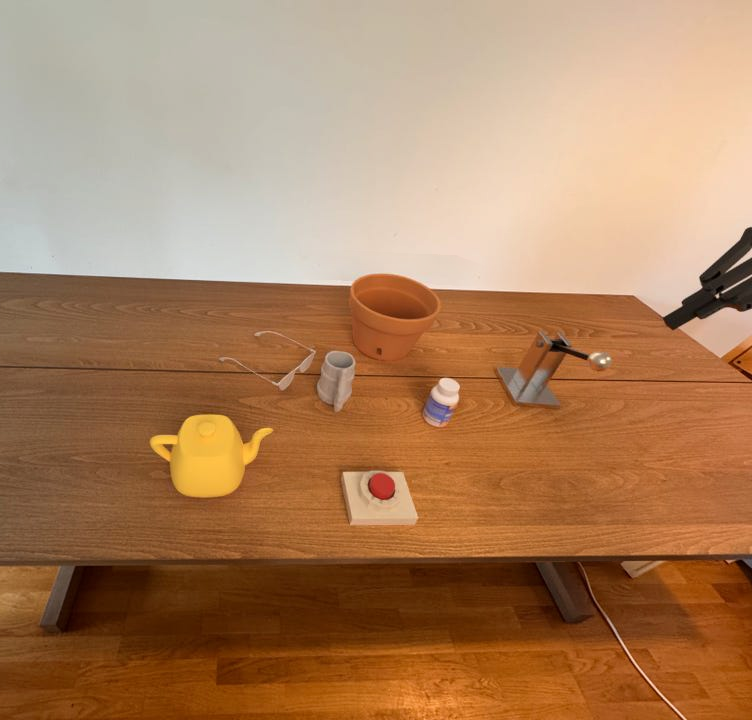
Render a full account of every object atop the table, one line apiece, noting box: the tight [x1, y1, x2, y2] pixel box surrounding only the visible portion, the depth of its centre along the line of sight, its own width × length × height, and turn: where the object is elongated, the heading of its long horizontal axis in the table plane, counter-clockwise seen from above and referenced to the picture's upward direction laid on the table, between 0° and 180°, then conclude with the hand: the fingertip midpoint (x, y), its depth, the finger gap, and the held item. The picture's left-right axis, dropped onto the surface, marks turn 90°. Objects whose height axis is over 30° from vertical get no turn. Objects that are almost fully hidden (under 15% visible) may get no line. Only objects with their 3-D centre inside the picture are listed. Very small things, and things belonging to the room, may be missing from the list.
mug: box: [316, 350, 356, 413], centre depth 88 cm, size 8×12×12 cm, turn 178°
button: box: [369, 473, 395, 499], centre depth 70 cm, size 4×4×2 cm
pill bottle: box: [422, 377, 461, 428], centre depth 86 cm, size 5×5×10 cm
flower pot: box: [348, 273, 442, 362], centre depth 104 cm, size 21×21×15 cm
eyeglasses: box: [218, 330, 317, 391], centre depth 99 cm, size 15×18×4 cm
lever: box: [548, 337, 613, 372], centre depth 83 cm, size 17×4×4 cm, turn 177°
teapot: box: [149, 414, 274, 499], centre depth 71 cm, size 13×20×12 cm
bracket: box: [494, 330, 573, 410], centre depth 93 cm, size 12×10×15 cm
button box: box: [340, 470, 419, 526], centre depth 72 cm, size 11×9×4 cm
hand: (667, 324), depth 69 cm, fingers closed
